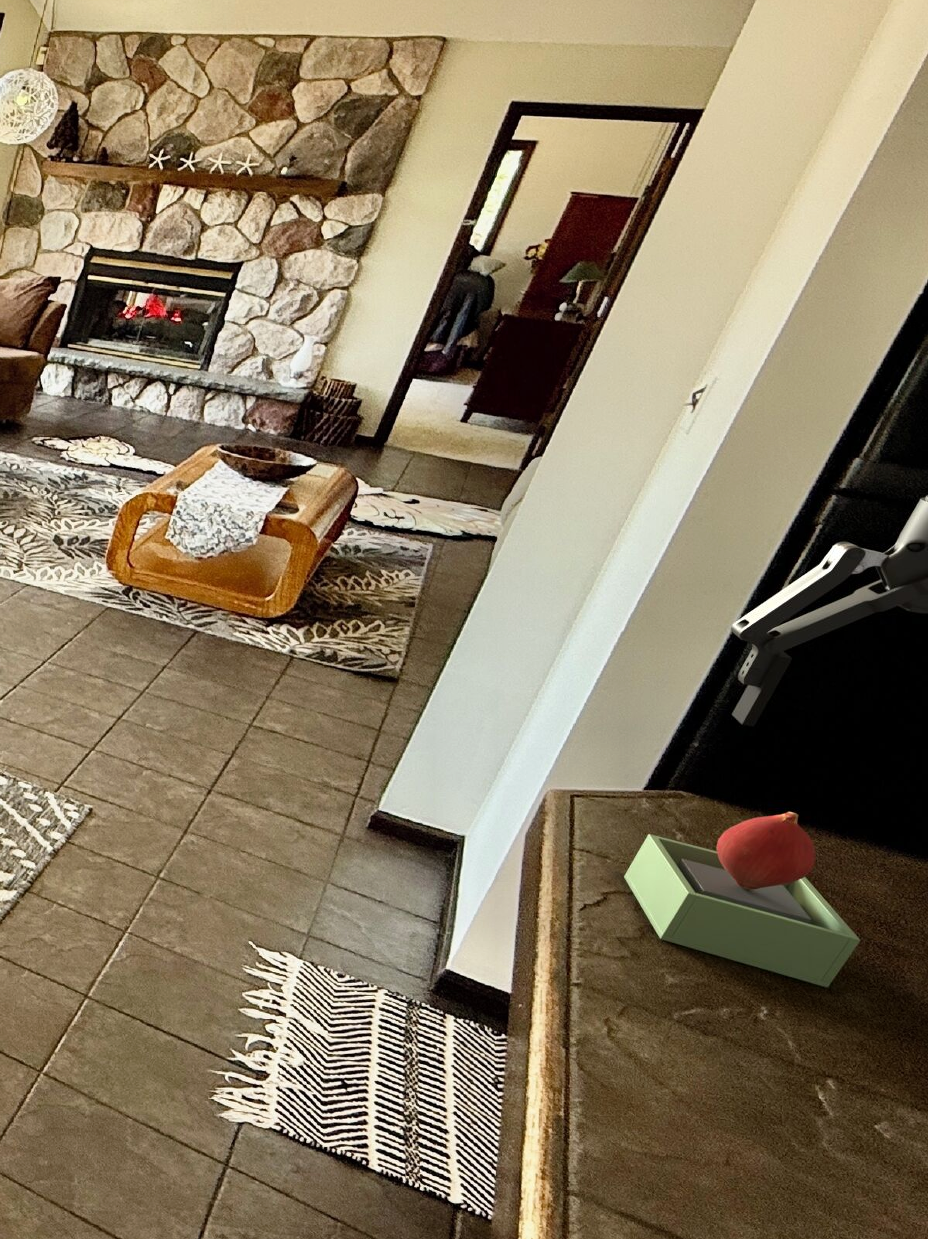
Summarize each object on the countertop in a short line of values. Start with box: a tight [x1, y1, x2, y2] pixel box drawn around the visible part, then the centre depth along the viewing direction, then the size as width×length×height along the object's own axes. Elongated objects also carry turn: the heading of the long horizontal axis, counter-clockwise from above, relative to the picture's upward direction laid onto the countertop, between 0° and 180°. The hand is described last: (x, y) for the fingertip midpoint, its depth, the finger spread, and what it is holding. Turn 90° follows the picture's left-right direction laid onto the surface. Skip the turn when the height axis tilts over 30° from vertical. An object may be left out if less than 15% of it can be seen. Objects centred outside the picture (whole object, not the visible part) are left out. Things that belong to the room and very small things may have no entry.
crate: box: [623, 833, 861, 989], centre depth 106 cm, size 11×13×5 cm
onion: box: [715, 811, 816, 890], centre depth 103 cm, size 6×6×8 cm
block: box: [677, 859, 811, 924], centre depth 106 cm, size 7×7×4 cm
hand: (850, 743), depth 99 cm, fingers open, 13 cm apart
